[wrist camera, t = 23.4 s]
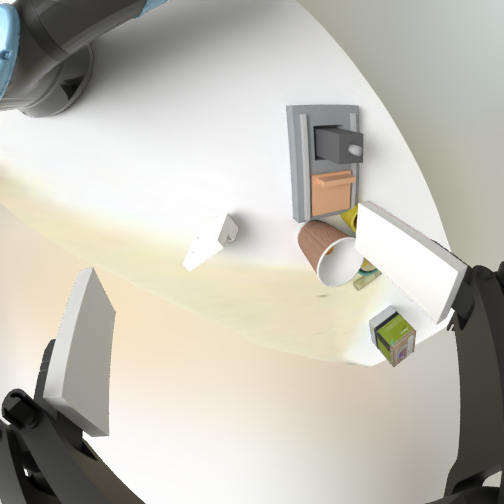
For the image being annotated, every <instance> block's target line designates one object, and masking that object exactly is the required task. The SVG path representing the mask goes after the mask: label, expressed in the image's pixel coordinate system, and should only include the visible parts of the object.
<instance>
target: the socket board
mask: <svg viewBox="0 0 504 504" xmlns="http://www.w3.org/2000/svg"><path fill="white" fill-rule="evenodd" d="M286 111H287V123H288V136H289V149H290V164H291V181H292V201H293V218H294V219H295V220H296V221H297V222H298V223H301V222H306V221H310V220H314V219H319V218H323V217H328V216H332V215H337V214H341V213H346V212H348V210H349V209H351V210H352V209H353V208H354V207H355V205H357V202H358V182H359V163H350V164H336V163H334V162H331V161H329V160H326V159H324V158H321V157H319V156H316V155H315V152H314V131H313V128H330V127H334V128H339V129H344V130H348V131H353V132H357V133H359V109H358V106H355V105H297V106H286ZM348 169H349V170H351V175H353V176H355V177H356V182H354V183H351V187H350V208H349V209H344V210H339V211H335V212H330V213H326V214H321V215H316V216H313V215H312V184H311V175H312V174H319V173H326V172H333V171H341V170H348Z"/></svg>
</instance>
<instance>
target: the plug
mask: <svg viewBox="0 0 504 504" xmlns="http://www.w3.org/2000/svg"><path fill="white" fill-rule="evenodd" d="M313 131H314V152H315V155H316V156H319V157H321V158H324V159H326V160H329V161H331V162H334V163H336V164H350V163H363V134H361V133H357V132H353V131H348V130H344V129H339V128H334V127H330V128H313Z"/></svg>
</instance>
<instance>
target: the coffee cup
mask: <svg viewBox="0 0 504 504" xmlns="http://www.w3.org/2000/svg"><path fill="white" fill-rule="evenodd" d="M355 239H356V238H353V237H350V236H348V235H346V234H345V233H343V232H341V231H339V230H337V229H335V228H334V227H332V226H330V225H328V224H326V223H324V222H322V221H319V220H311V221H309V222H307V223H305V224H304V225H303V226H302V227H301V229H300V230H299V233H298V237H297V240H298V243H299V246H300V248H301V250H302V251H303V253H304V254H305V256H306V258H307V259H308V261H309V262H310V264H311V265H312V267H313V269H314V270H315V272H316V273H317V276H318V279H319V281H320V282H321V283H322V284H323V285H325V286H328V287H337V286H340V285H343V284H345V283H346V282H348V281H349V280H351V279H352V278H353V277H354V276H355V275H356V273H357V272H358V271H359V269H360V267H361V265H362V263H363V260H364V256H362V255H361V254H360V253H359V252H358V251H357V250H356V249H355ZM333 246H334V248H333V251H332V253H330V254H329V255H325V254H326V253H327V252H328V250H329V249H330V248H331V247H333Z"/></svg>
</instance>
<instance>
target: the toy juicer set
mask: <svg viewBox="0 0 504 504" xmlns="http://www.w3.org/2000/svg"><path fill="white" fill-rule="evenodd" d="M341 217H342V219H343V220H344V221H345V222H346V224H347V225H348V226H349V227H350V228H351V229H352V231H353V232H354V233H356V229H357V217H358V204H357V205H355V207H354V208H353V209H352V210H351V209H349V210H348V212H346V213H341ZM333 248H334V246H333V247H331V248H330V249H329V250H328V252H327V253H326V254H325V255H329V254H330V253H332V251H333ZM358 273H359V274H361V275H364V276H363V277H362V278H360V279H359V280H357V281H356V282H355V283H354V287H355V288H356V290H357V291H359V290H361V289H362V288H364V287H365V286H366V285H368V284H369V283H370V282H372V281H373V280H374V279H376V278H377V277H378V276H379V275H381V274H382V272H380V271H379V270H378V269H377V268H376V267H375V266H374V265H373V264H372V263H370V262H369V261H368V260H367V259H366V258H365V257H364V260H363V263H362V265H361V267H360V269H359V271H358Z"/></svg>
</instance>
